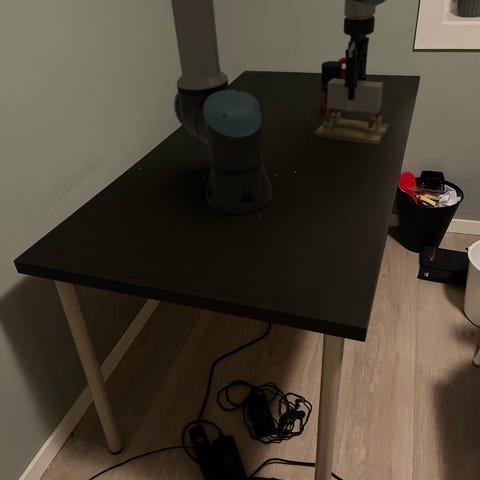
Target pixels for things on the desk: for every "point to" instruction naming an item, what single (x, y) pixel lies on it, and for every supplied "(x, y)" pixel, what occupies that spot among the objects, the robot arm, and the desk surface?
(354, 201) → the desk surface
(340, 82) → the grey rectangular block
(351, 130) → the rack
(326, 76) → the deodorant
